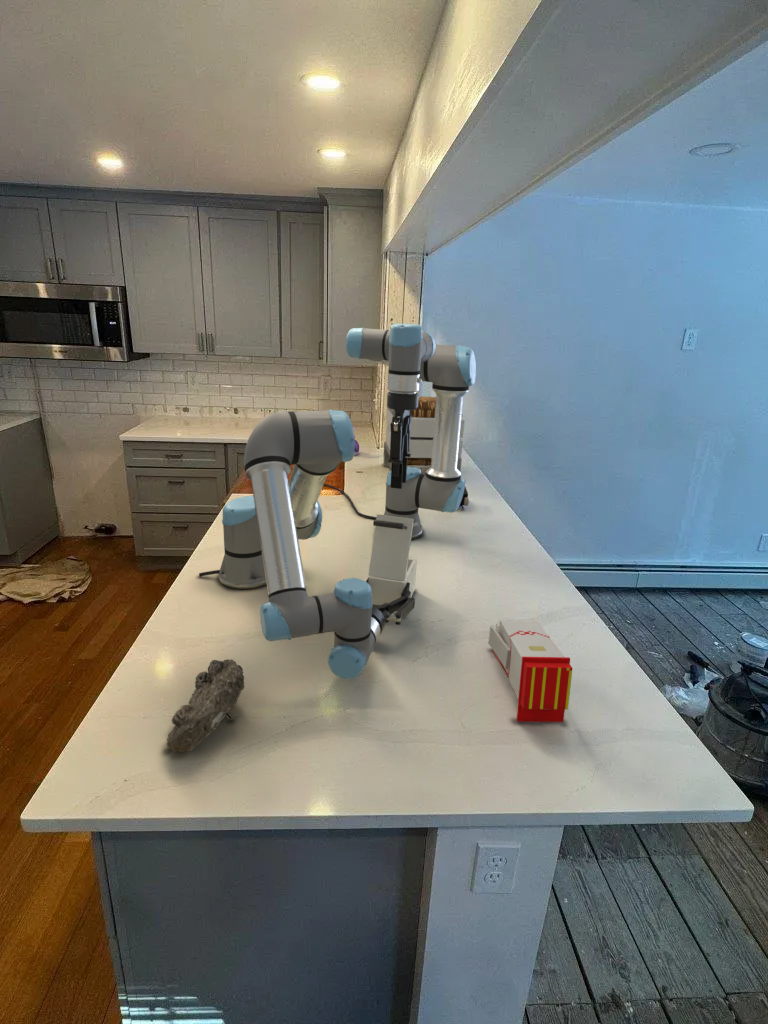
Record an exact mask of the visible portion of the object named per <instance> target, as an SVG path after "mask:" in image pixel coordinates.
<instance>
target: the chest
mask: <svg viewBox="0 0 768 1024" xmlns="http://www.w3.org/2000/svg"><path fill="white" fill-rule="evenodd" d="M416 570H417V558H413V557H412V558H411V557H409V558H408V565H407V572H406V579H405V581H399V580H393V579H386V578H380V577H373V576H368V577H369V585H370V586H371V589H372V604H374V605H382V604H384V603H390V602H392V601H394V600H396V599H398V598H400V597H401V594H402V591H403V589H404V588H405V586H406V584H407V582H408V583H410V587H409V591H411V598H412V597H413V595H414V592H415V587H416V573H417V571H416ZM396 612H397V611H396ZM393 614H394V613H393ZM393 614H391V615H393Z"/></svg>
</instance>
